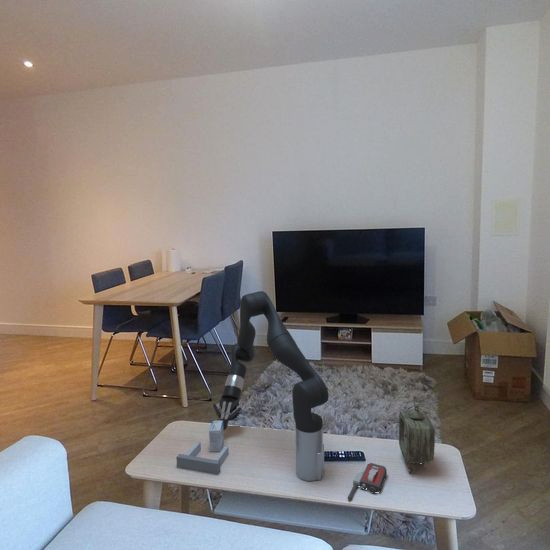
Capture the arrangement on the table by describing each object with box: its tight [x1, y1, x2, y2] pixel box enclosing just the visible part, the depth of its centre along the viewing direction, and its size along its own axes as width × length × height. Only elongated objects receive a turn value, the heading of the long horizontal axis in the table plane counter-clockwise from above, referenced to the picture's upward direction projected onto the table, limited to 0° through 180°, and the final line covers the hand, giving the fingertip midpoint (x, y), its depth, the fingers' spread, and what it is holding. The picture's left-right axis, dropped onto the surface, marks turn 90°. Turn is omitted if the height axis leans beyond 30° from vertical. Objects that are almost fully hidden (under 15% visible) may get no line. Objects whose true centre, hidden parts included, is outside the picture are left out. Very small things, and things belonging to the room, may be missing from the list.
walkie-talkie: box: [347, 462, 388, 500], centre depth 134 cm, size 9×4×20 cm
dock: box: [176, 441, 230, 476], centre depth 149 cm, size 16×12×4 cm
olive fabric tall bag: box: [398, 395, 436, 474], centre depth 144 cm, size 14×9×25 cm, turn 175°
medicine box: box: [208, 420, 225, 453], centre depth 159 cm, size 8×4×9 cm, turn 0°
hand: (222, 429), depth 163 cm, fingers closed
